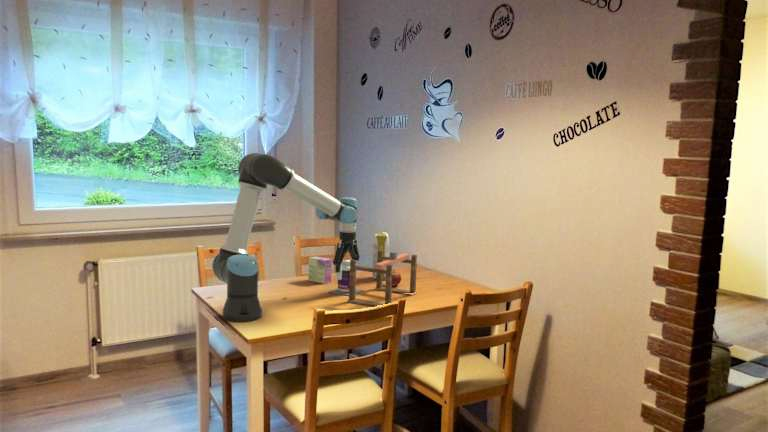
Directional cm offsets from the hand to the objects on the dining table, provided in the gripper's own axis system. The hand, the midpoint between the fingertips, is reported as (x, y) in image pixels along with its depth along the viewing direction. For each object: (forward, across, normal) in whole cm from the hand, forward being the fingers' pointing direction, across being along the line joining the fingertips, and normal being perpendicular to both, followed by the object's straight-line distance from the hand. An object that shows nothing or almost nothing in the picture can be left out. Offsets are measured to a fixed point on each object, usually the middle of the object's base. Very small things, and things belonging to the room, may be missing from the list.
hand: (346, 276), depth 269 cm
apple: (+7, +23, -13) cm, 28 cm away
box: (+7, +10, +21) cm, 24 cm away
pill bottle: (+7, 0, 0) cm, 7 cm away
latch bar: (-9, 0, -24) cm, 25 cm away
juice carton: (+7, +33, -1) cm, 34 cm away
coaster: (+7, 0, 0) cm, 7 cm away
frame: (+7, 0, -19) cm, 21 cm away
